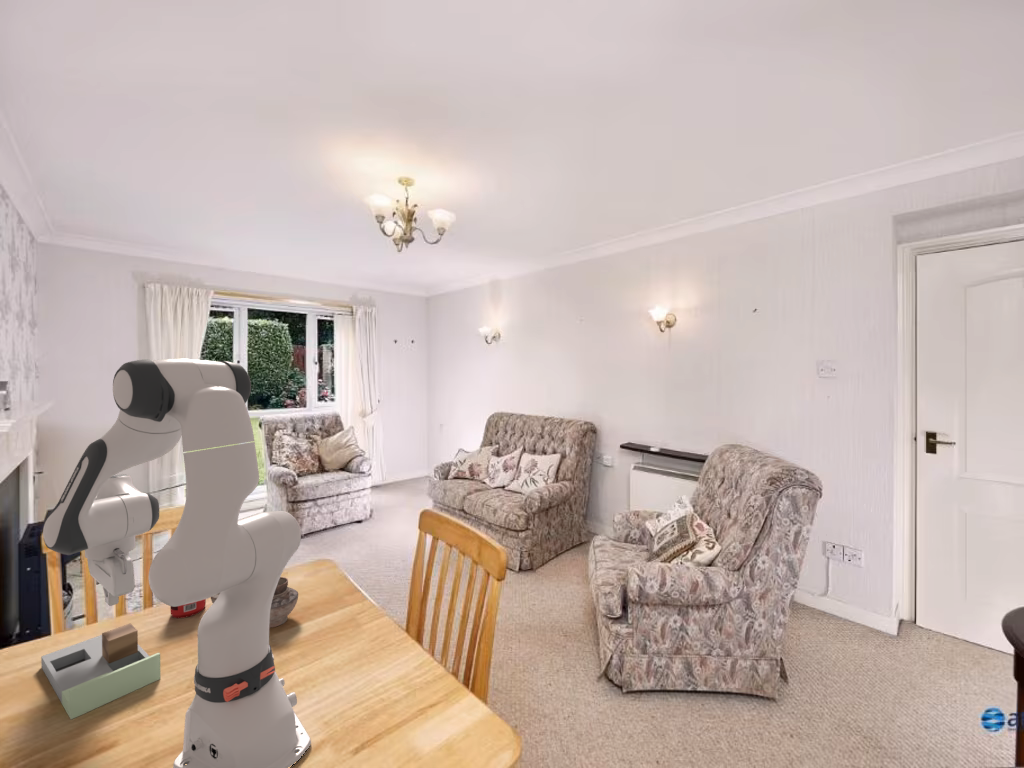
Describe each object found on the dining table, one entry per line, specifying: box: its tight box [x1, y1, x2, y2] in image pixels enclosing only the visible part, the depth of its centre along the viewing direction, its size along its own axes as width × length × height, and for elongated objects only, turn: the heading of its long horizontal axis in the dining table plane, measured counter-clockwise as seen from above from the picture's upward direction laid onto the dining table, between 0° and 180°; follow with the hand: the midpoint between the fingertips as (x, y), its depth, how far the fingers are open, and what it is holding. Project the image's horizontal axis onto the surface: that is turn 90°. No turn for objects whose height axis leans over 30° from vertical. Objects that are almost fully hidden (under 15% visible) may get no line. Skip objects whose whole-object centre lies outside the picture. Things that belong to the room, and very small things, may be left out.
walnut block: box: [101, 623, 139, 664], centre depth 101 cm, size 5×5×5 cm
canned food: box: [170, 599, 207, 619], centre depth 124 cm, size 8×8×11 cm
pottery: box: [210, 576, 299, 628], centre depth 121 cm, size 11×25×12 cm, turn 75°
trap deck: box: [40, 634, 161, 720], centre depth 98 cm, size 26×14×6 cm, turn 55°
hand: (111, 603), depth 104 cm, fingers closed
